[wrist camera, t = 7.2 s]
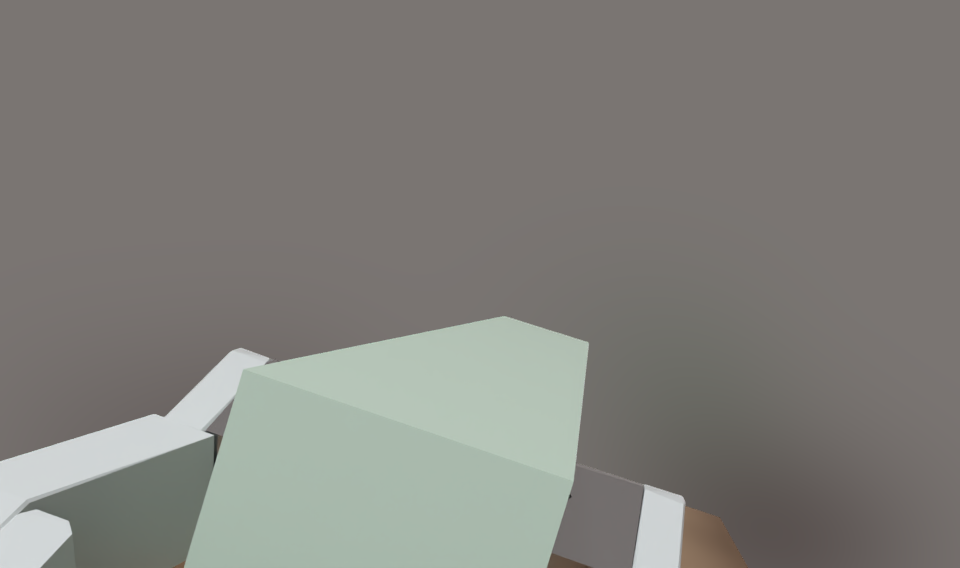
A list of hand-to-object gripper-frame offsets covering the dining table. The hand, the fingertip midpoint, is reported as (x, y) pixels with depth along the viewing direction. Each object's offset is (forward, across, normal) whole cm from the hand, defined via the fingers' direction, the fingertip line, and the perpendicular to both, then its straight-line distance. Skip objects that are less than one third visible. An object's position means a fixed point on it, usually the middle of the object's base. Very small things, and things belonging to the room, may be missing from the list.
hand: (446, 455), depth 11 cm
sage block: (+4, 0, +6) cm, 7 cm away
